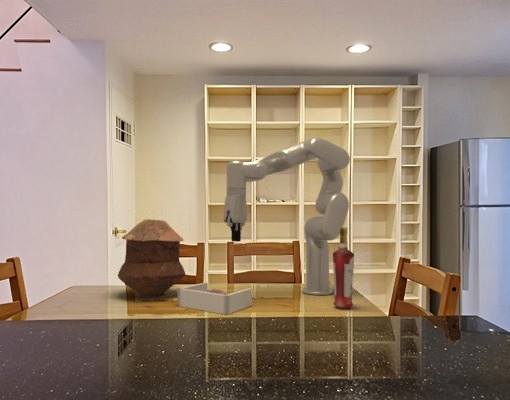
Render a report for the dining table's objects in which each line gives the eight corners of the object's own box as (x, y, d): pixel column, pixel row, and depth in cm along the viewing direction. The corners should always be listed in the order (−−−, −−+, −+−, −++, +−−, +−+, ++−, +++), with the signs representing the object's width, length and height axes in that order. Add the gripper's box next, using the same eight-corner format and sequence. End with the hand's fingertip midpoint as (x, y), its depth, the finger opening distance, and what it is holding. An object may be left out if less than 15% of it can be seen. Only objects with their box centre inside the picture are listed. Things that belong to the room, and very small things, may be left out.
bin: (204, 298, 150) (205, 282, 150) (251, 305, 138) (252, 288, 139) (177, 305, 137) (177, 288, 137) (226, 314, 126) (227, 295, 126)
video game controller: (226, 312, 135) (231, 292, 138) (219, 308, 132) (224, 288, 135) (203, 308, 140) (209, 289, 143) (196, 305, 137) (202, 285, 140)
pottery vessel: (102, 298, 148) (104, 219, 149) (145, 286, 172) (146, 218, 173) (159, 304, 138) (160, 220, 139) (196, 291, 162) (197, 219, 163)
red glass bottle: (337, 304, 141) (337, 227, 142) (357, 307, 137) (357, 227, 138) (329, 308, 135) (329, 227, 137) (349, 311, 131) (349, 228, 132)
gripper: (239, 194, 158) (238, 239, 158) (216, 192, 146) (216, 242, 145) (254, 194, 154) (254, 240, 154) (233, 192, 142) (233, 242, 141)
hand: (236, 241), depth 149 cm, fingers closed
